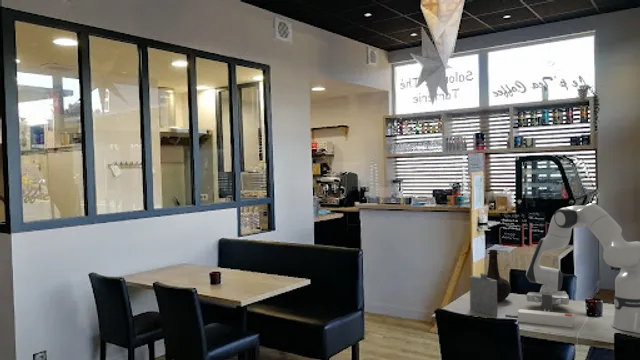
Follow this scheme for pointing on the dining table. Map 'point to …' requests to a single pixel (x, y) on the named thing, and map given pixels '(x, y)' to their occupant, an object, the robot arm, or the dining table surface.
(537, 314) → the power strip
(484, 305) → the hip flask
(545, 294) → the charger
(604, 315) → the dining table surface
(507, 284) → the glass bottle
